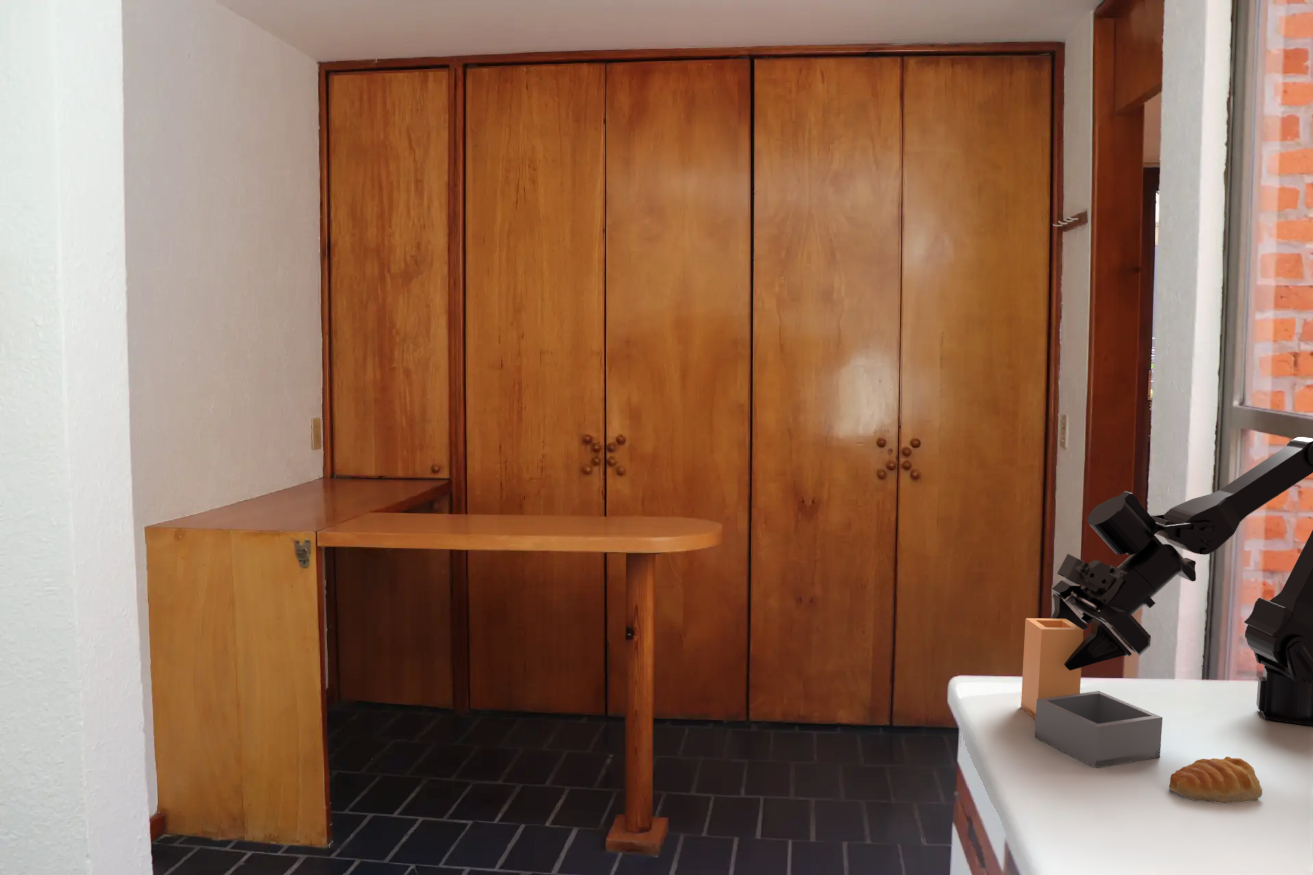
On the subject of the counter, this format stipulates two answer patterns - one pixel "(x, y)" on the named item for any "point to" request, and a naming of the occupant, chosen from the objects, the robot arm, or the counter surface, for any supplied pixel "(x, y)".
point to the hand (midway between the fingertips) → (1052, 657)
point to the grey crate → (1098, 728)
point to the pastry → (1217, 781)
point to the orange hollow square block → (1049, 660)
